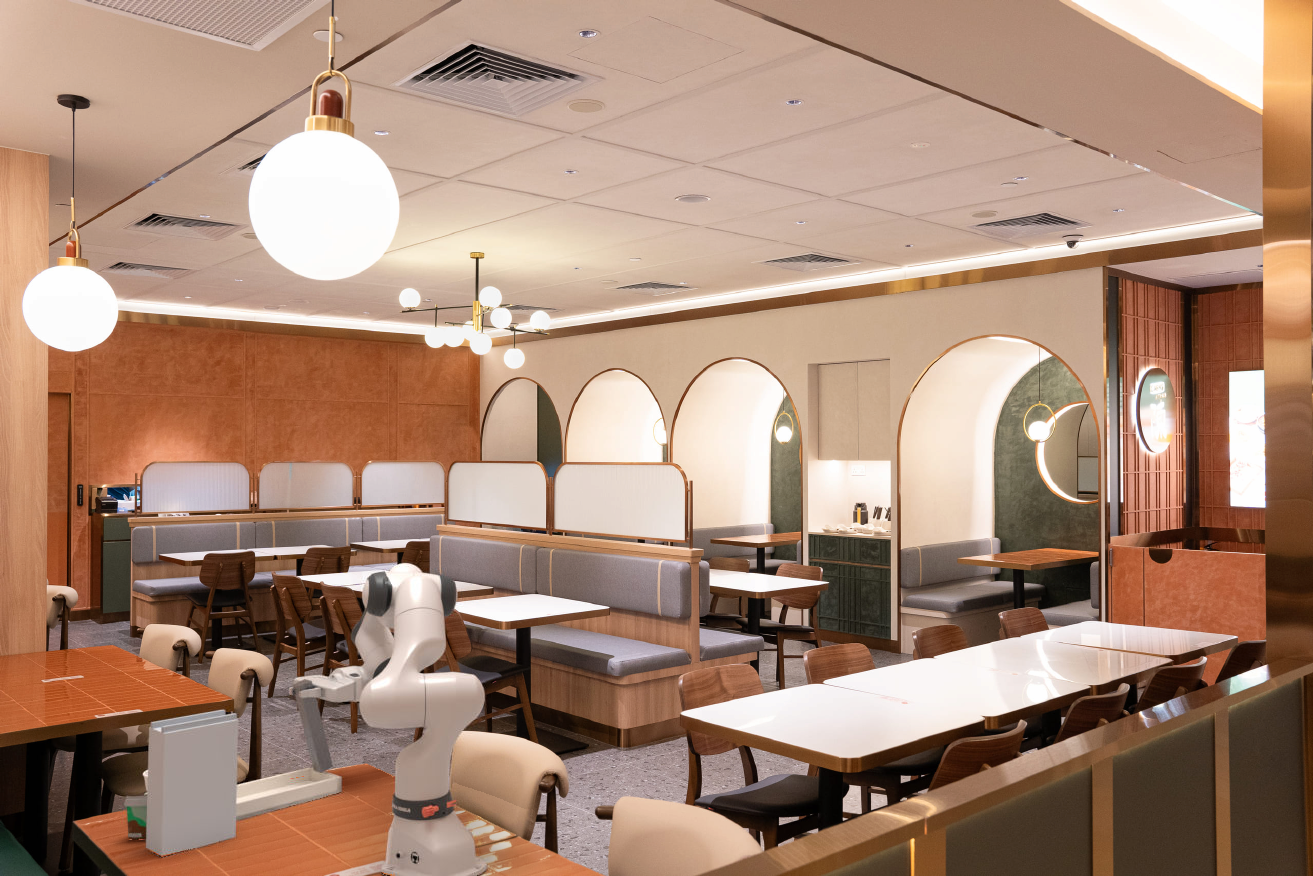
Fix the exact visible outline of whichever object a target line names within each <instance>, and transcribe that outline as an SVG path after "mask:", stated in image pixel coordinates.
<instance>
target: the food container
mask: <svg viewBox="0 0 1313 876" xmlns="http://www.w3.org/2000/svg"><path fill="white" fill-rule="evenodd" d="M125 797H126V798H125V799H124V804H123V806H124V807H126V817H127V833H128V840H129V839H132V840H139V839H146V828H147V790H146V791H144V792H143V793H140V794H139V795H136V796H133V795H131V796H130V795H126V796H125Z"/></svg>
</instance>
